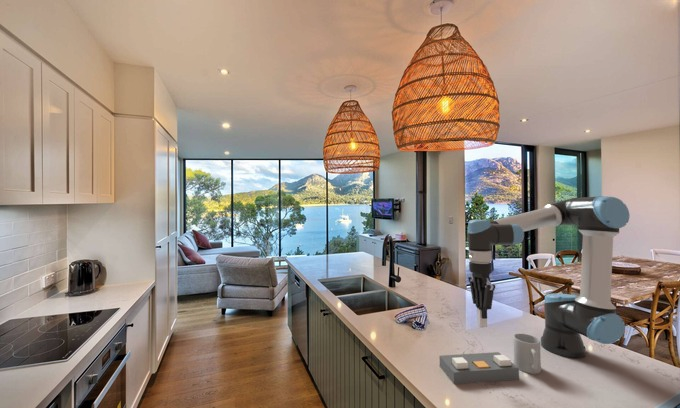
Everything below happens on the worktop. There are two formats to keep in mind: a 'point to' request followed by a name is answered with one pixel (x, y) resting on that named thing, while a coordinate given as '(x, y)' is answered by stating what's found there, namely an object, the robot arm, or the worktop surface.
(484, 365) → the button orange
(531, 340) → the mug
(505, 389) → the worktop surface
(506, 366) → the grey button panel
